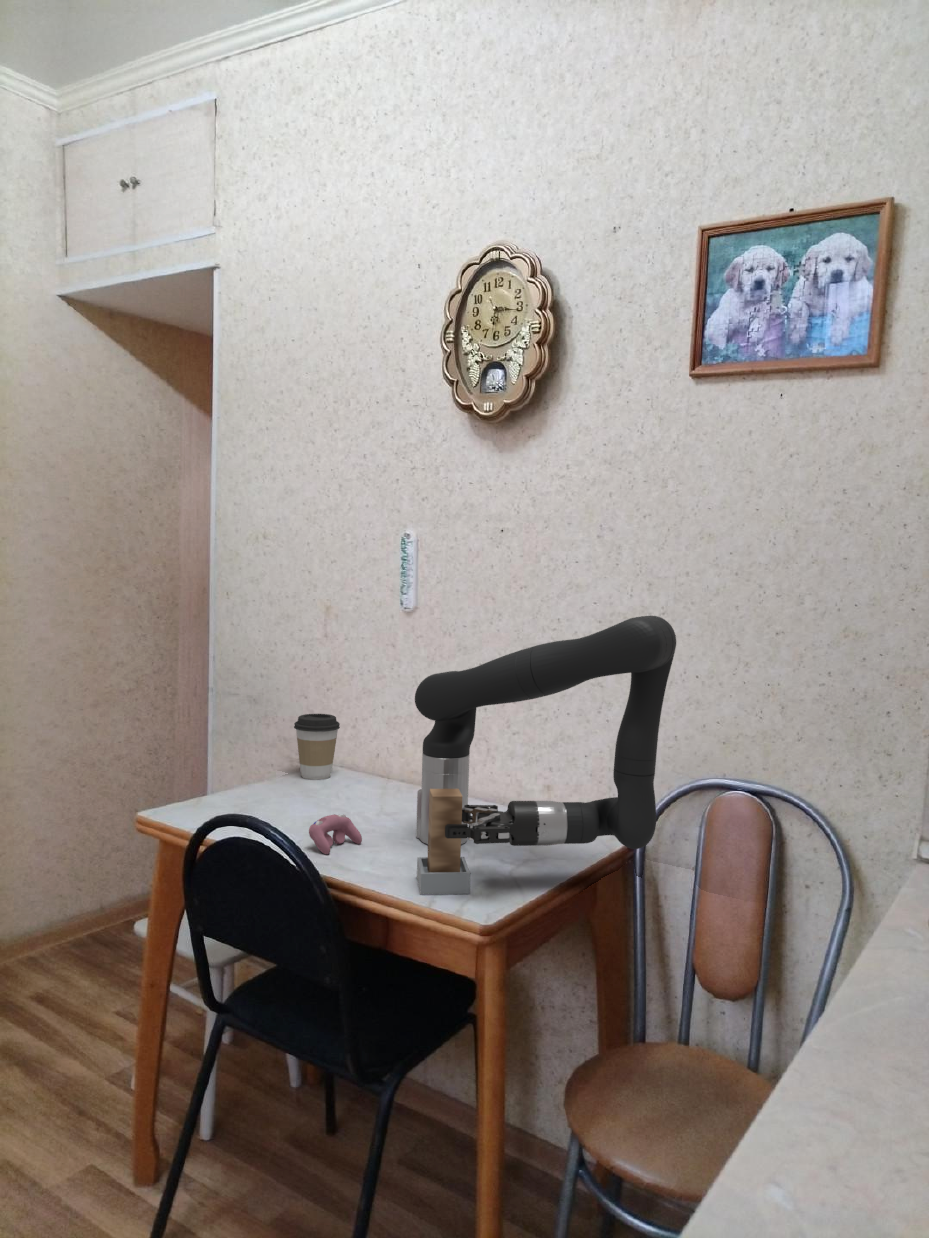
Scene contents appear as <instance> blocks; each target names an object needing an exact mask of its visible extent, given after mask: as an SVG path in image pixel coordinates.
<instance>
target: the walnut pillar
mask: <svg viewBox="0 0 929 1238" xmlns="http://www.w3.org/2000/svg"><path fill="white" fill-rule="evenodd" d="M447 824H462V795H461V793H460V791H459V789H430V792H429V826H428V844H427V857H428V859H427V870H428V873H431V872H460V857H462V856H461V853H462V850H461V849H462V844H461V838H446V837H445V826H446V825H447Z"/></svg>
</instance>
